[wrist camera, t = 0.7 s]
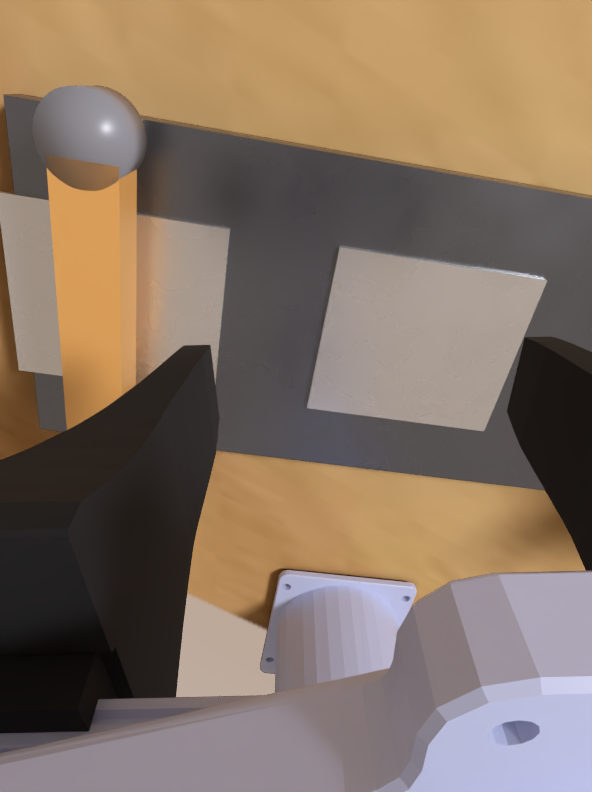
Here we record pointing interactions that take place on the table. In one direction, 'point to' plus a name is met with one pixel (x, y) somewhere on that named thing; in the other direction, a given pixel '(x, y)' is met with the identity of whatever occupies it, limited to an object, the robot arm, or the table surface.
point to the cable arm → (93, 238)
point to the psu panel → (324, 294)
